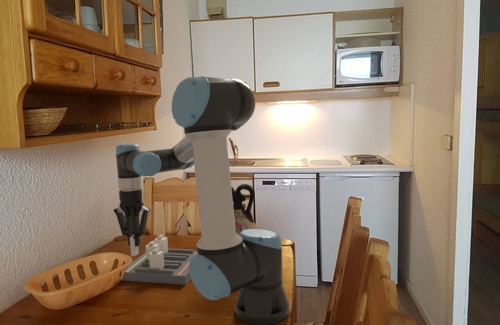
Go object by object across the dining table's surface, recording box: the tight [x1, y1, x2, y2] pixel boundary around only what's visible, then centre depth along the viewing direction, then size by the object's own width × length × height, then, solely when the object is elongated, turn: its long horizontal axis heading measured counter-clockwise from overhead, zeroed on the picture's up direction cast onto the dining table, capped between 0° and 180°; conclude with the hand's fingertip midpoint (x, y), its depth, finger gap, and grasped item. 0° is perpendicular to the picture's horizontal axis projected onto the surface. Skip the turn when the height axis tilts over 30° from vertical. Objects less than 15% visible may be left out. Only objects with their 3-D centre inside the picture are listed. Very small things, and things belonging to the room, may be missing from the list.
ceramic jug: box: [231, 183, 259, 235], centre depth 139 cm, size 17×15×30 cm
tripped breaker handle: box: [149, 248, 164, 269], centre depth 127 cm, size 3×4×7 cm
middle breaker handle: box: [145, 240, 160, 260], centre depth 135 cm, size 3×4×7 cm
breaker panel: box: [121, 248, 197, 286], centre depth 135 cm, size 22×24×4 cm
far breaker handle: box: [153, 234, 169, 253], centre depth 142 cm, size 3×4×7 cm
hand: (135, 254), depth 129 cm, fingers closed
